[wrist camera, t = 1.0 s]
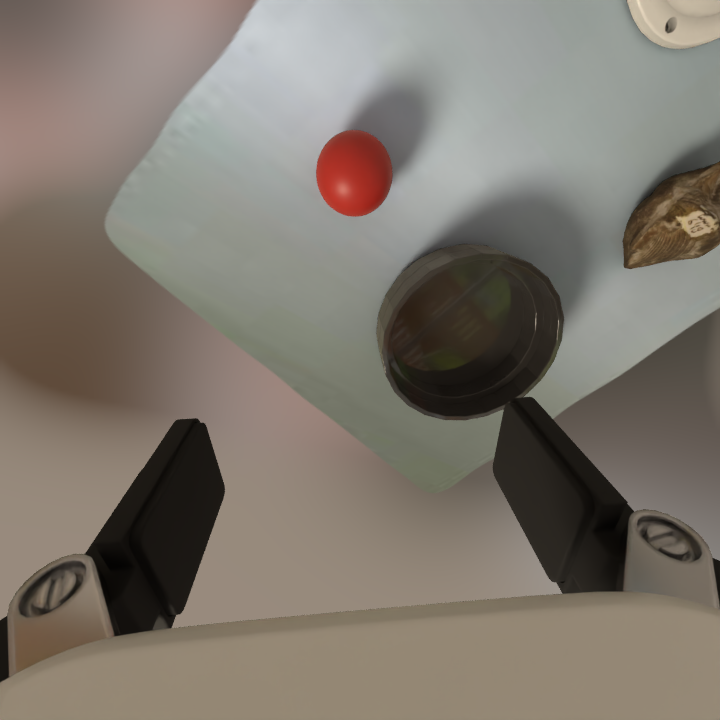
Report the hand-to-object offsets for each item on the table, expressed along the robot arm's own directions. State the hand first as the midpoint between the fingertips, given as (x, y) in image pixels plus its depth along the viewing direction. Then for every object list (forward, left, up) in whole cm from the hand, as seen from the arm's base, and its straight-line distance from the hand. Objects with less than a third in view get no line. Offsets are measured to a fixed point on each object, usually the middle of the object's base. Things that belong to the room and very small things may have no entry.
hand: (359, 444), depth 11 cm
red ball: (-2, -7, -22) cm, 24 cm away
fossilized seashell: (-30, +2, -26) cm, 40 cm away
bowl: (-10, +9, -25) cm, 29 cm away
